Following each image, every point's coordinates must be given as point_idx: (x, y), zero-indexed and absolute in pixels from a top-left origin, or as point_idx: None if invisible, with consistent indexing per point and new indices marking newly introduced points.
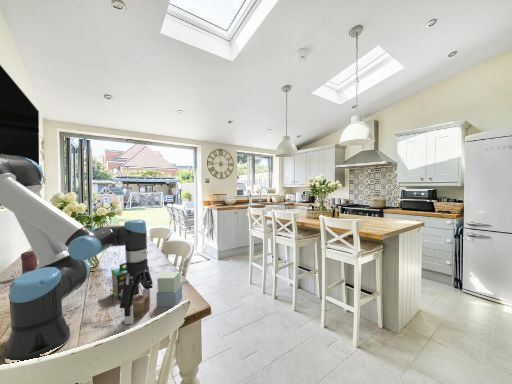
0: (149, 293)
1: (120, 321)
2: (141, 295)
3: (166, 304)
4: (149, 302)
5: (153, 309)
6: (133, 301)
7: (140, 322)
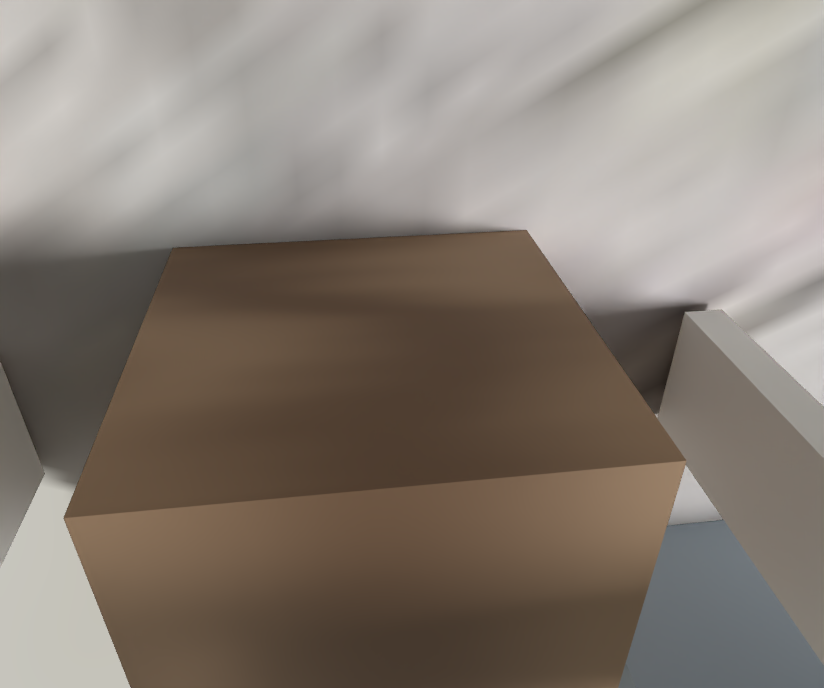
0: (803, 616)
1: (25, 187)
2: (622, 639)
3: None
4: None
5: None
6: (227, 651)
7: None
